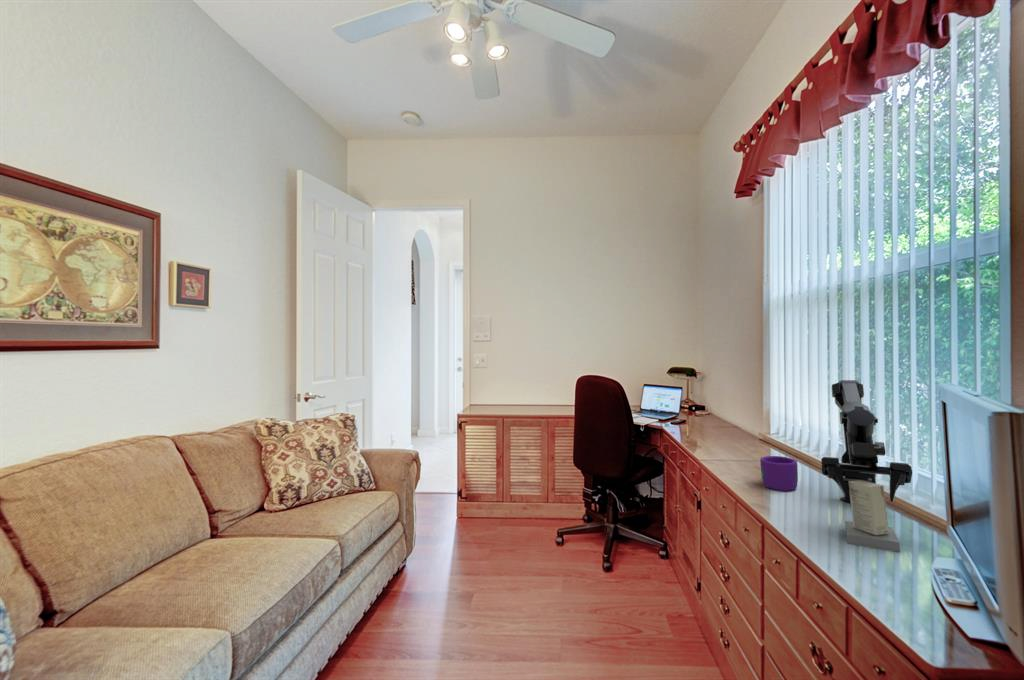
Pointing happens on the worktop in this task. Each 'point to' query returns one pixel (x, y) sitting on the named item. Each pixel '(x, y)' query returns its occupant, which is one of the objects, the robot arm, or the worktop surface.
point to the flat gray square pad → (872, 538)
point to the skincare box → (868, 507)
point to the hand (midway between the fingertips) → (868, 498)
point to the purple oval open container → (779, 473)
